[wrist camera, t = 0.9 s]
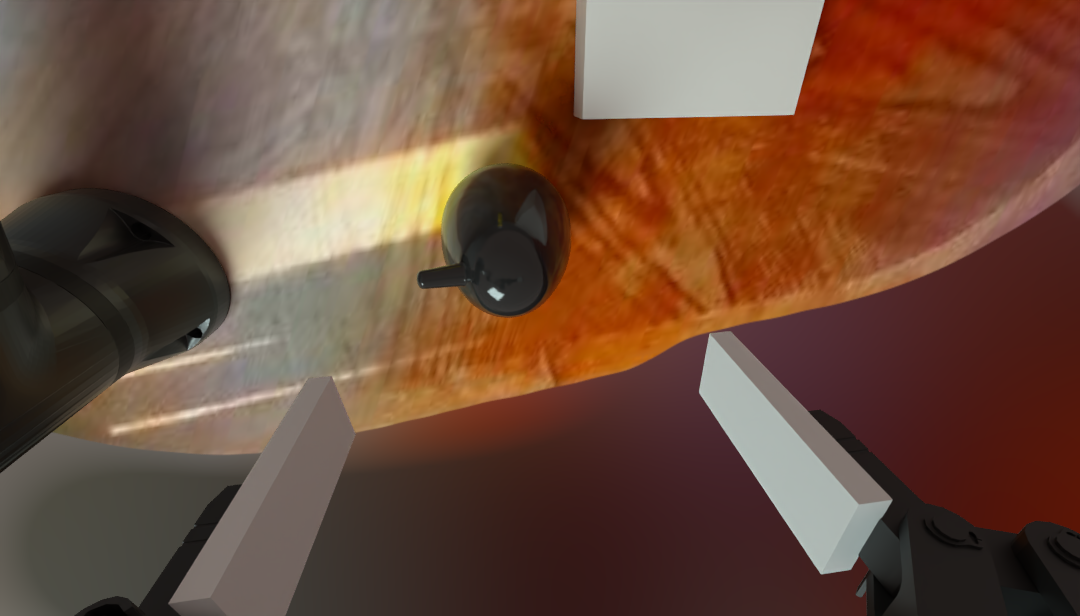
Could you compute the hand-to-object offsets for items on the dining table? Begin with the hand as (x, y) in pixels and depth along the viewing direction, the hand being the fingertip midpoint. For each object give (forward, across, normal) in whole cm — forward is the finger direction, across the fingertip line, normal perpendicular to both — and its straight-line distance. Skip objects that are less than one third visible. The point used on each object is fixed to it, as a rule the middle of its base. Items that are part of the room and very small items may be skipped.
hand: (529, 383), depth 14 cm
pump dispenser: (+24, 0, -1) cm, 25 cm away
